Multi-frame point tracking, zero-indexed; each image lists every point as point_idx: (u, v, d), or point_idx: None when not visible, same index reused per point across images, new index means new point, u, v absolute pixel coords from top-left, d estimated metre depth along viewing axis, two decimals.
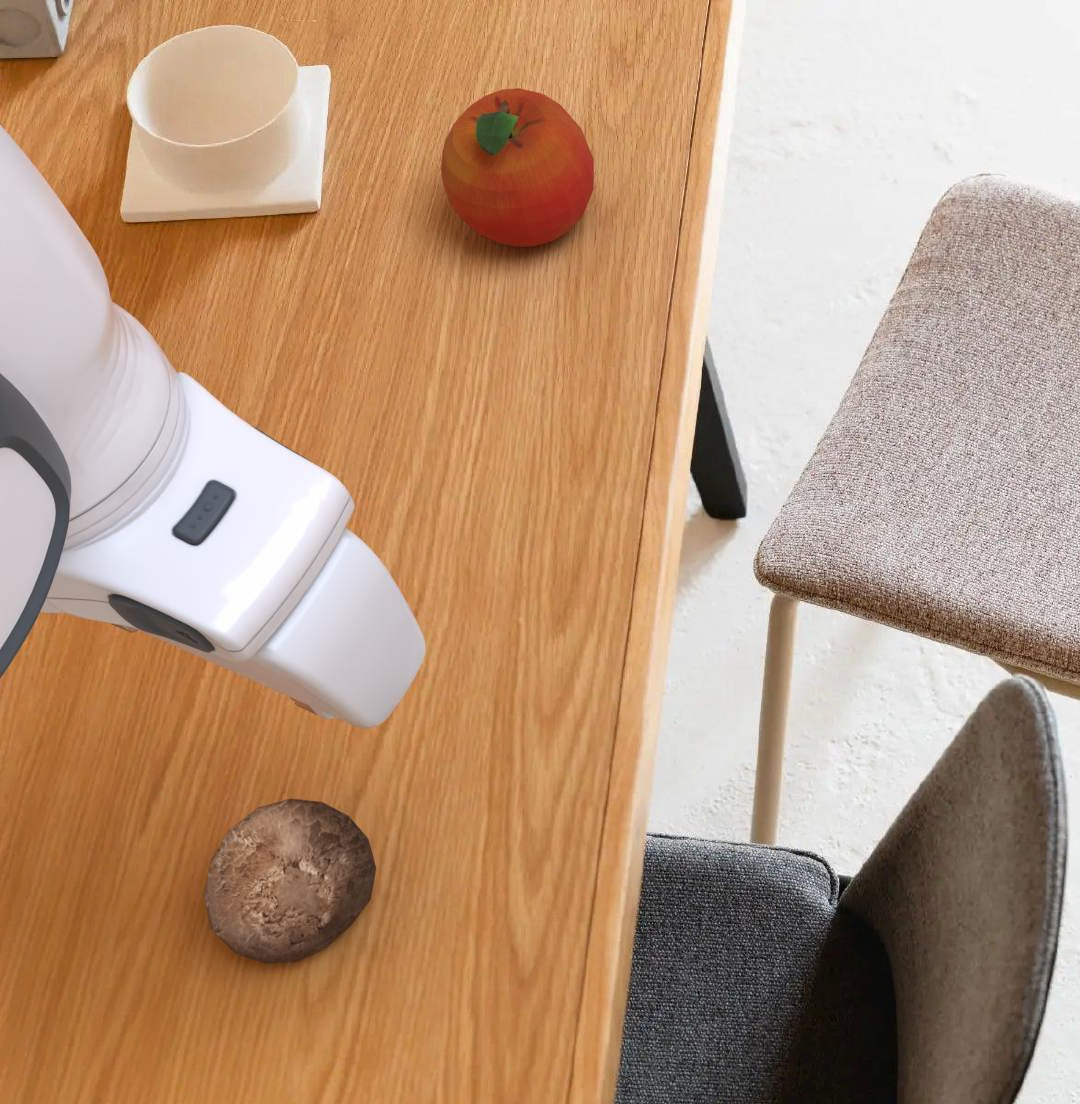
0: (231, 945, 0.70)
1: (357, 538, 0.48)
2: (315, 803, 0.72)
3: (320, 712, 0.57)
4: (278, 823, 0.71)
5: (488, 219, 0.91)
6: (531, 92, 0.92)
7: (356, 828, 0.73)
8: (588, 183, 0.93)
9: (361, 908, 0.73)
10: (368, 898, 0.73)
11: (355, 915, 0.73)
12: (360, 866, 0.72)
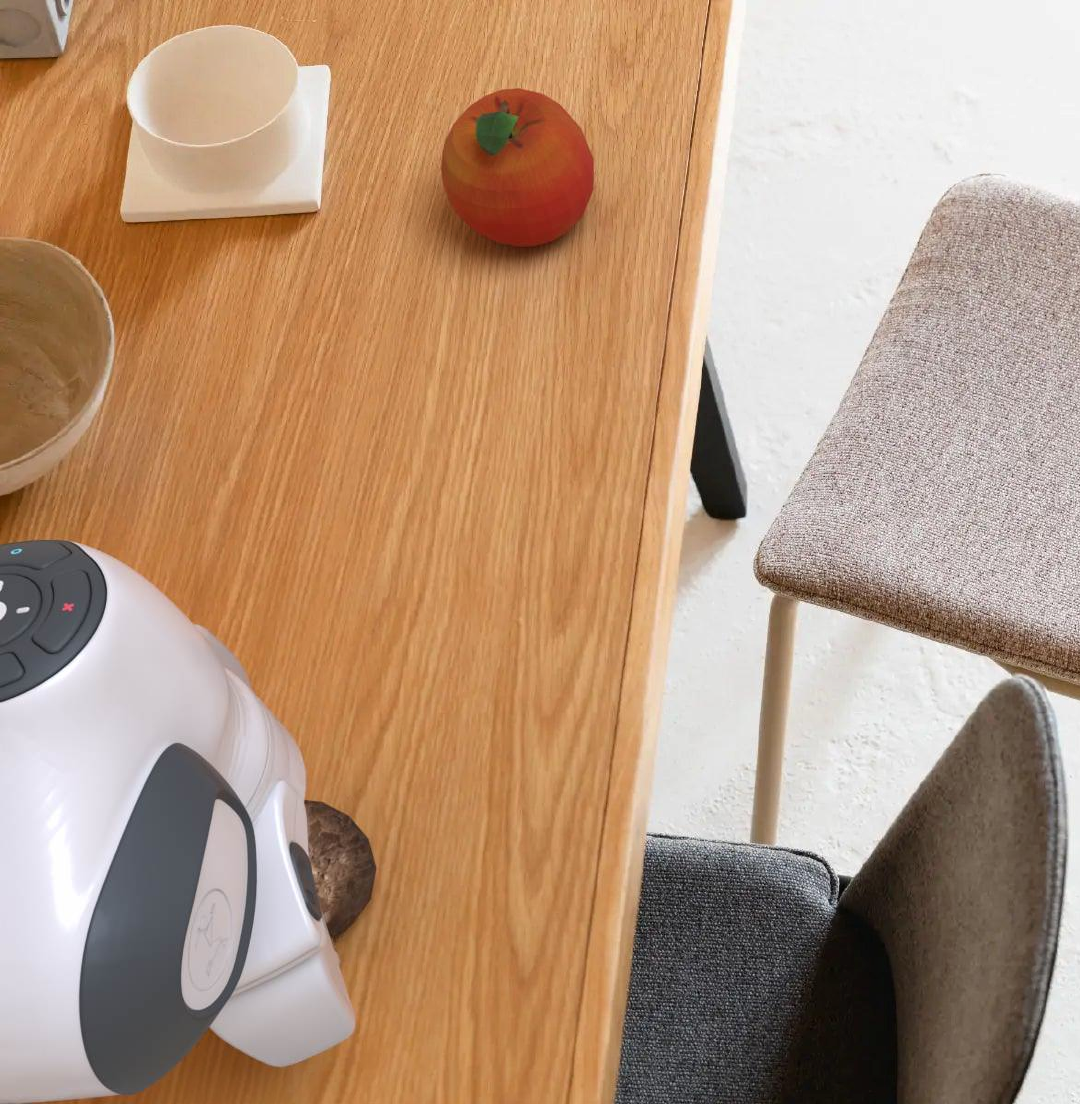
0: None
1: (318, 963, 0.60)
2: (315, 803, 0.72)
3: None
4: None
5: (488, 219, 0.91)
6: (531, 92, 0.92)
7: (356, 828, 0.73)
8: (587, 183, 0.93)
9: (361, 908, 0.73)
10: (368, 898, 0.73)
11: (355, 915, 0.73)
12: (360, 866, 0.72)
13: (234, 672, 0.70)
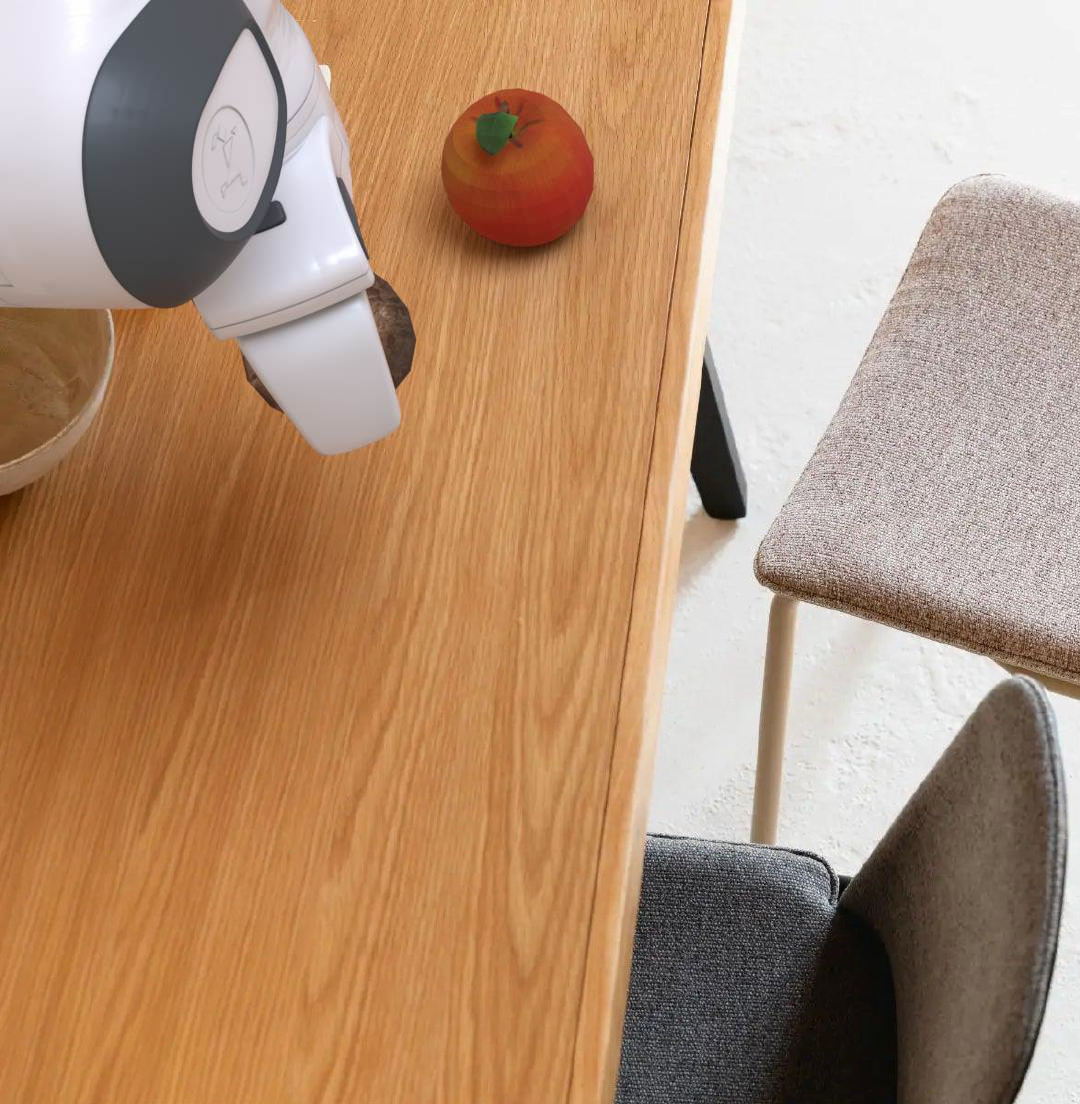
0: (268, 394, 0.68)
1: (366, 308, 0.57)
2: None
3: None
4: None
5: (488, 219, 0.91)
6: (531, 92, 0.92)
7: None
8: (587, 183, 0.93)
9: (401, 373, 0.70)
10: (408, 364, 0.71)
11: (395, 379, 0.70)
12: (401, 325, 0.70)
13: None
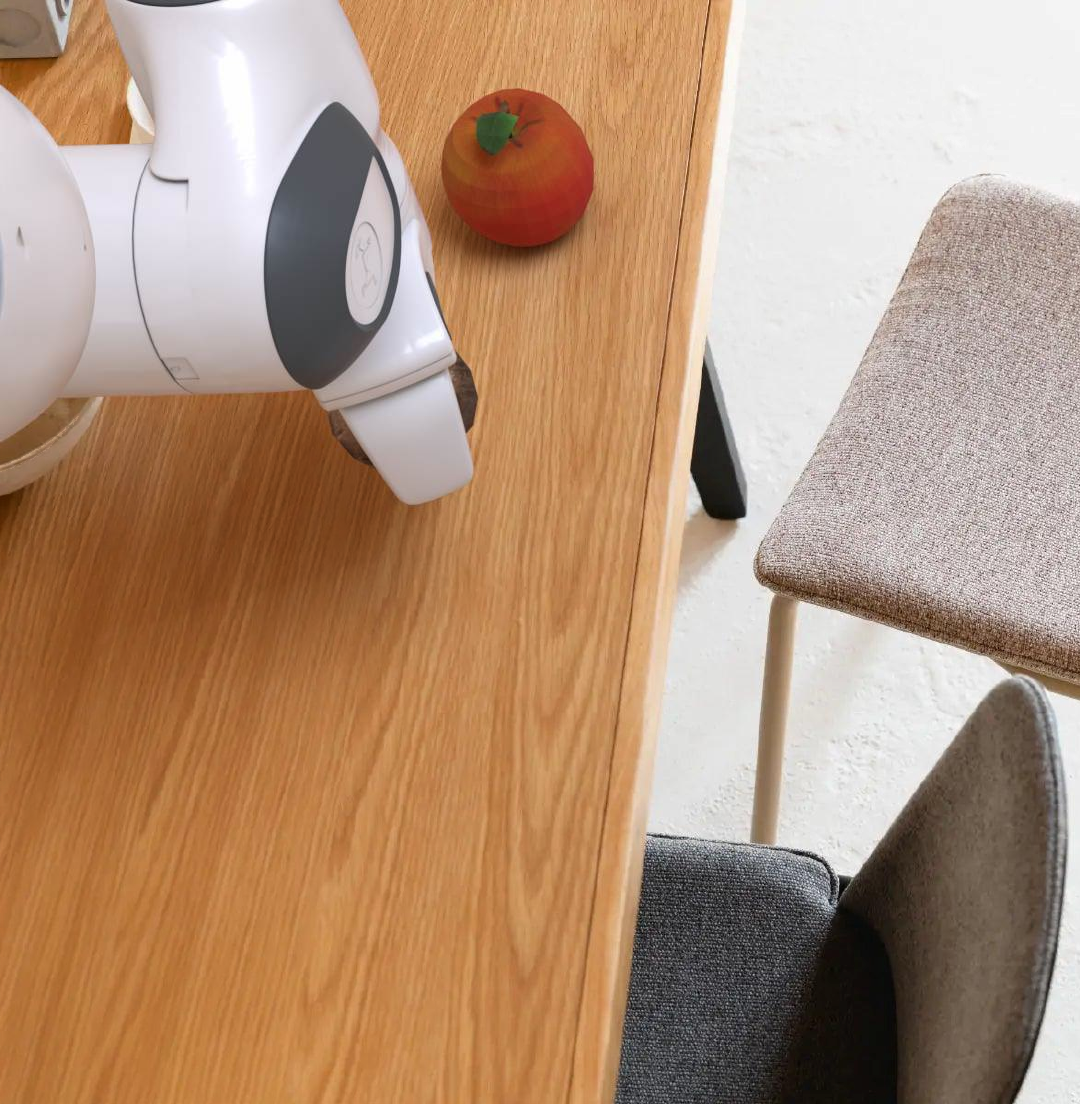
0: (351, 447, 0.78)
1: (448, 382, 0.67)
2: None
3: None
4: None
5: (488, 219, 0.91)
6: (531, 92, 0.92)
7: (460, 357, 0.81)
8: (588, 183, 0.93)
9: (466, 428, 0.80)
10: (472, 420, 0.81)
11: None
12: (466, 386, 0.80)
13: None
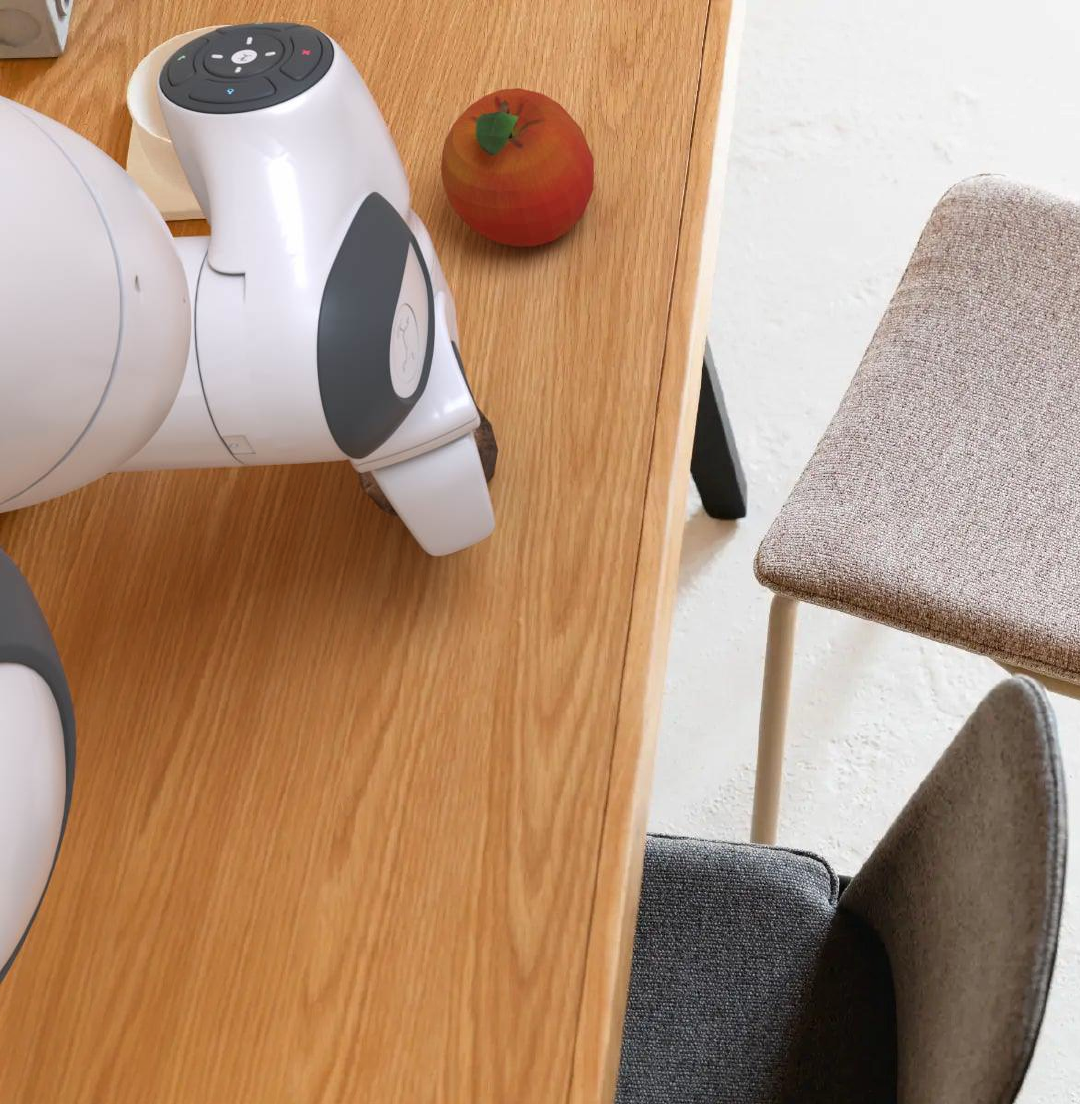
0: (379, 499, 0.83)
1: (473, 443, 0.72)
2: None
3: None
4: None
5: (488, 219, 0.91)
6: (531, 92, 0.92)
7: None
8: (587, 183, 0.93)
9: (486, 479, 0.85)
10: (492, 472, 0.85)
11: None
12: (487, 440, 0.84)
13: None
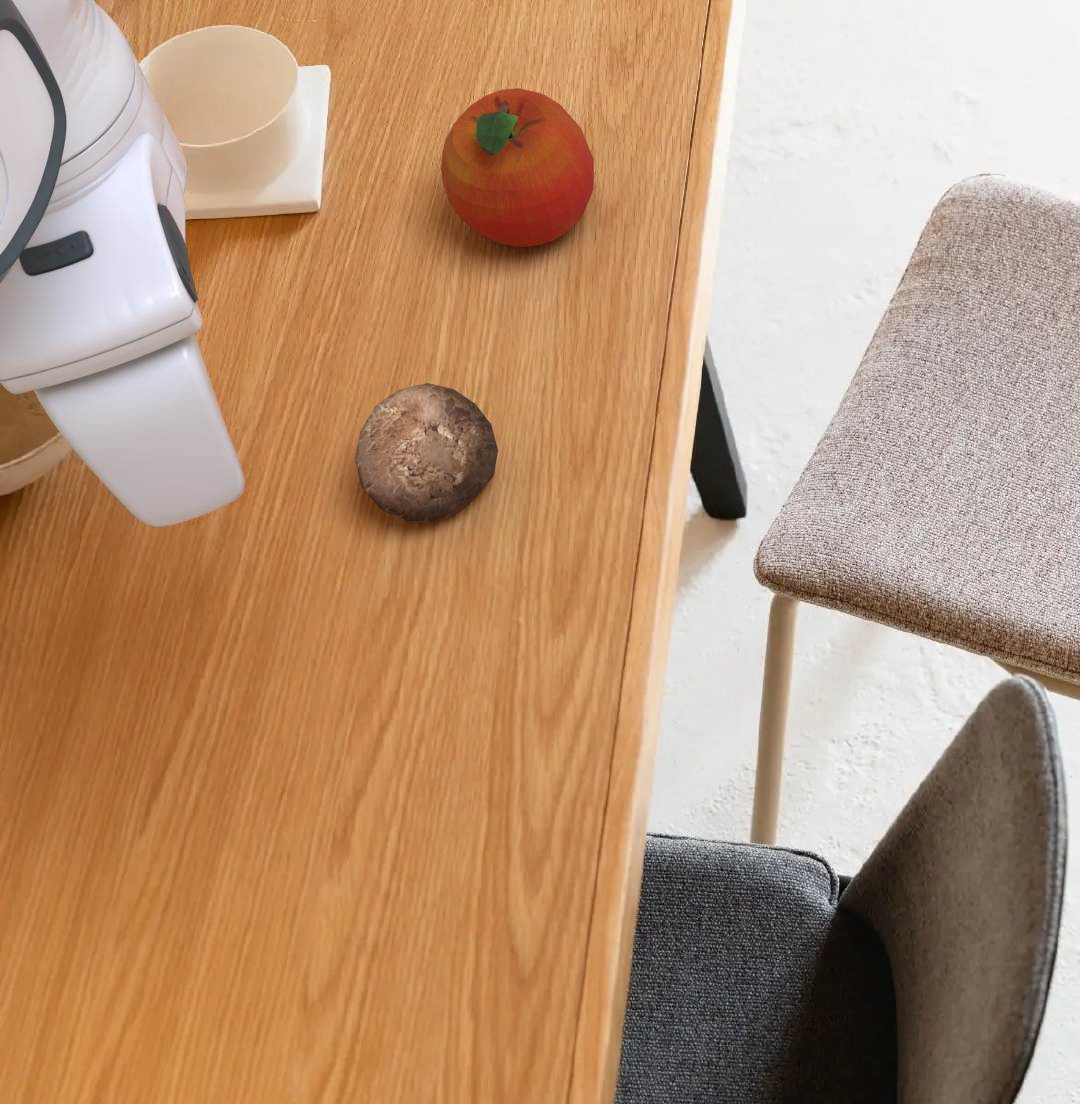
0: (379, 499, 0.83)
1: (192, 357, 0.49)
2: (447, 388, 0.85)
3: None
4: (419, 396, 0.83)
5: (488, 219, 0.91)
6: (531, 92, 0.92)
7: None
8: (587, 183, 0.93)
9: (486, 479, 0.85)
10: (492, 472, 0.85)
11: (482, 484, 0.85)
12: (487, 440, 0.84)
13: None
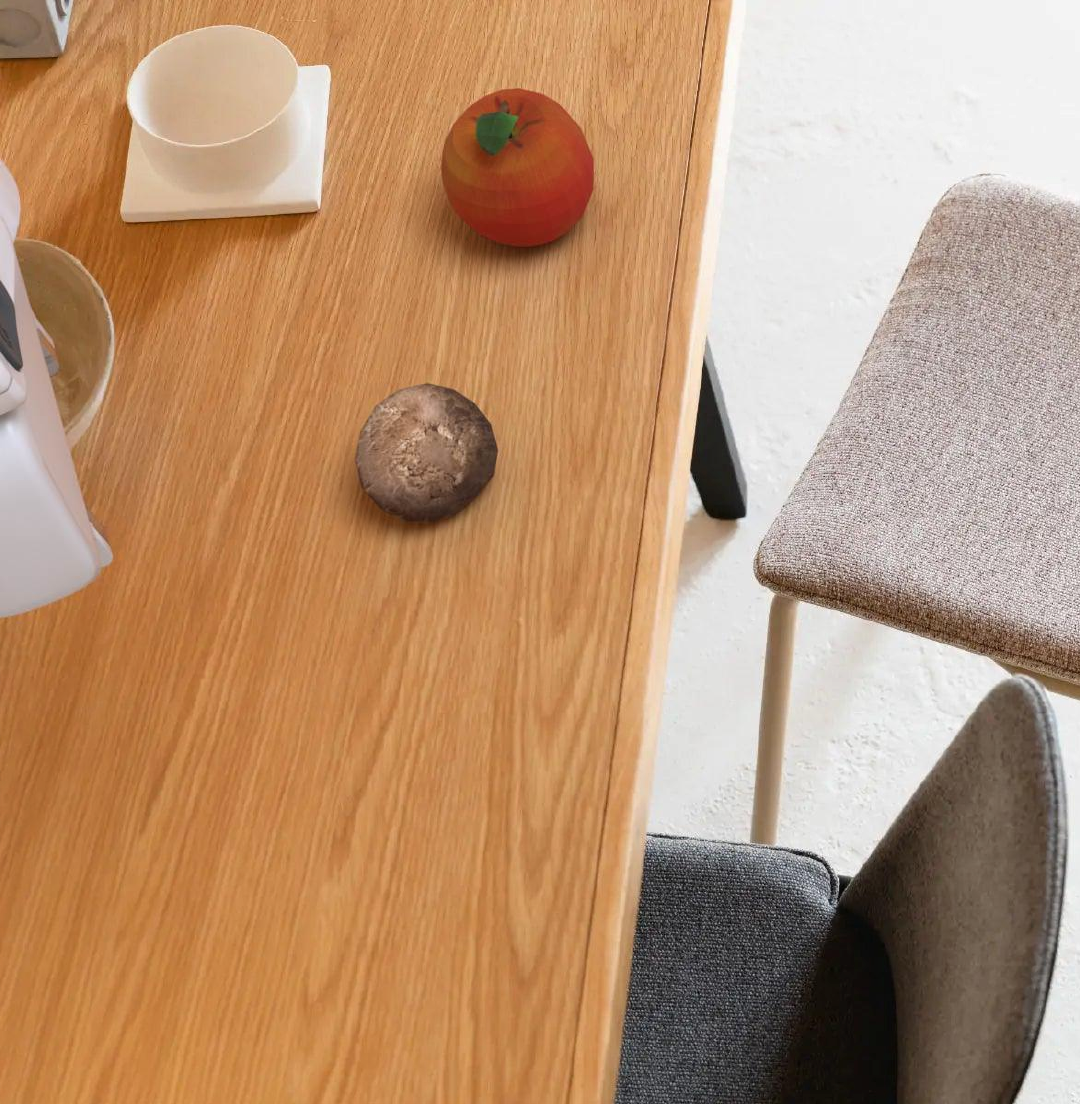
0: (379, 499, 0.83)
1: (18, 433, 0.42)
2: (447, 388, 0.85)
3: None
4: (419, 396, 0.83)
5: (488, 219, 0.91)
6: (531, 92, 0.92)
7: (481, 412, 0.85)
8: (587, 183, 0.93)
9: (486, 479, 0.85)
10: (492, 472, 0.85)
11: (482, 484, 0.85)
12: (487, 440, 0.84)
13: None
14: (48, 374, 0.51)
